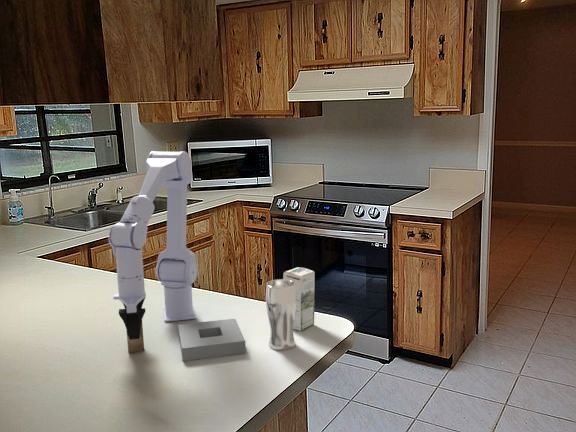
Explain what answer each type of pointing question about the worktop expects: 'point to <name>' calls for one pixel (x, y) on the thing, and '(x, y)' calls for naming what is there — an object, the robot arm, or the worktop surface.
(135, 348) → the dowel
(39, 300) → the worktop surface
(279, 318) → the beer glass
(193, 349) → the socket block
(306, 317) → the syrup box
